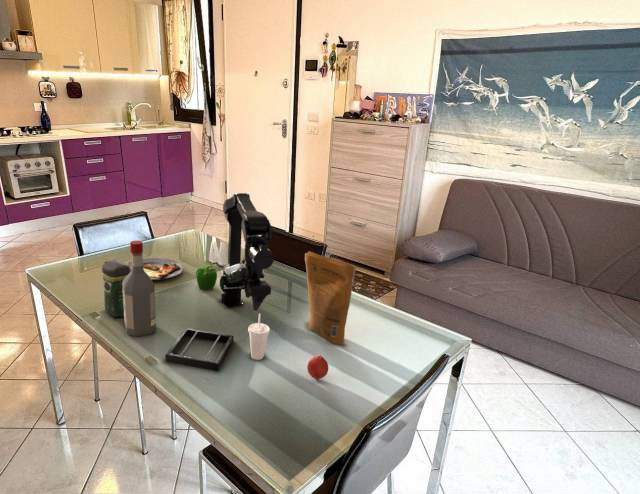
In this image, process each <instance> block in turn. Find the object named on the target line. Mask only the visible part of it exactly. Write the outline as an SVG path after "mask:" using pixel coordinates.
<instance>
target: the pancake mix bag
mask: <svg viewBox="0 0 640 494" xmlns="http://www.w3.org/2000/svg"><path fill="white" fill-rule="evenodd" d="M304 262H305V270H306V281H307V292H308V293H307V294H308V307H309V319H308V330H309V331H311V332H313V333H315V334H316V335H318V336H319V337H321V338H322V339H324V340H326V341H327V342H329V343H331V344H332V345H333V344H334V345H341V346H343V345H345V332H346V331H345V330H346V324H347V319H348V314H349V310H350V309H349V308H350V306H351V305H350V304H351V298H352V291H353V285H354V282H355V281H354V280H355V275H356V270H357V268H356V267H355V266H353V265H351V264H350V263H347V262H344V261H342V260H339V259H335V258H332V257H328V256H325V255H321V254H318V253H315V252H313V251H307V252H305V253H304Z"/></svg>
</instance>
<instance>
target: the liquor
mask: <svg viewBox="0 0 640 494" xmlns="http://www.w3.org/2000/svg"><path fill="white" fill-rule="evenodd" d="M129 242H130V243H129V247H130V249H129V250H130V253H131V261H132V269H131V270H132V271H131V272H130V273H129V274H128V275H127V276H126V278H125V279H124V280H123V282H122V288H123V305H124V316H123V318H124V319H123V320H124V327H125V330H126V334H127V335H128V336H131V337H134V338H135V337H141V336H149V335H151V334H153V333H155V331H156V329H157V319H156V318H157V317H156V316H157V315H156V292H155V291H156V288H155V284H154V282H153V281H154V280H152V279H151V277H150V276H149V275H148V274H147V273H146V272H145V271H144V269H143V259H142V258H143V253H144V244H143V241H141V240H132V241H129Z"/></svg>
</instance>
